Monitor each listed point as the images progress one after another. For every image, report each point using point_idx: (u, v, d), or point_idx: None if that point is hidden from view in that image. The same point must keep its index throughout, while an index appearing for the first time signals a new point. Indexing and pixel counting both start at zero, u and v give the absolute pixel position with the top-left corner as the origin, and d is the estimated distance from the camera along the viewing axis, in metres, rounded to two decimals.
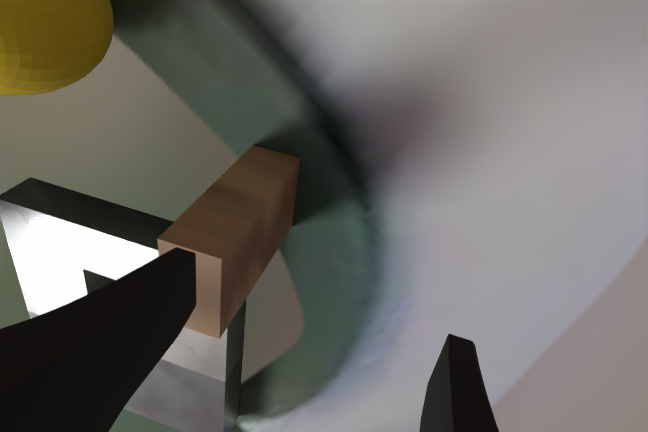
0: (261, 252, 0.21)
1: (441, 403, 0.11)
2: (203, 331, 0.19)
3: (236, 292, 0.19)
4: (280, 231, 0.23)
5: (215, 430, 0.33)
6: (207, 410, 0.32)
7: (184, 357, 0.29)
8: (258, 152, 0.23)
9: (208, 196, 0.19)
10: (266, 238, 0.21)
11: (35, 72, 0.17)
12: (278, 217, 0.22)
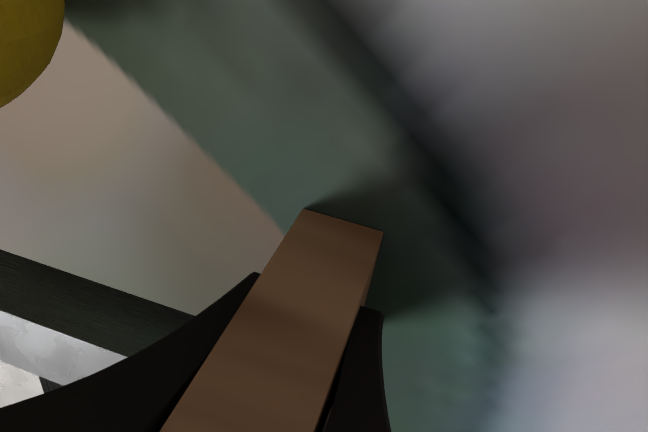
0: (328, 410, 0.12)
1: None
2: None
3: None
4: None
5: None
6: None
7: None
8: (314, 223, 0.14)
9: (239, 330, 0.10)
10: (336, 384, 0.12)
11: None
12: None
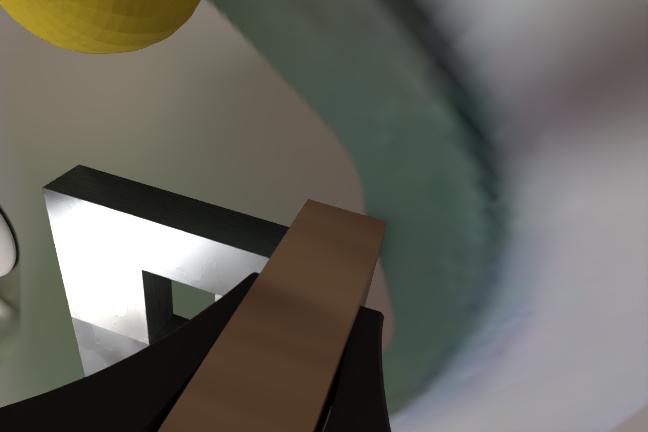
0: (333, 394, 0.12)
1: None
2: None
3: None
4: None
5: None
6: None
7: None
8: (319, 213, 0.14)
9: (247, 314, 0.10)
10: None
11: (128, 20, 0.13)
12: None
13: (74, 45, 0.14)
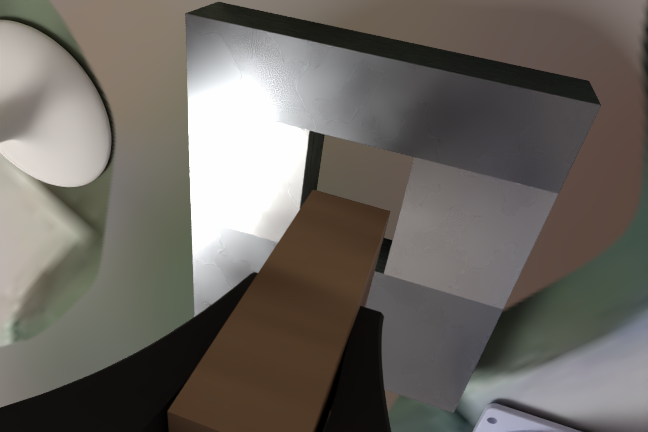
0: None
1: None
2: None
3: None
4: None
5: (451, 388, 0.23)
6: (450, 357, 0.22)
7: (443, 272, 0.20)
8: (324, 202, 0.14)
9: (256, 296, 0.11)
10: None
11: None
12: None
13: None
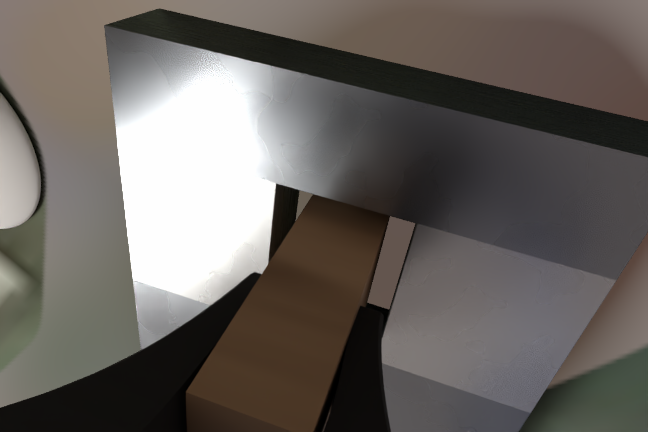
0: None
1: None
2: None
3: None
4: None
5: None
6: None
7: (453, 365, 0.15)
8: (328, 199, 0.15)
9: (266, 287, 0.11)
10: None
11: None
12: (363, 303, 0.14)
13: None
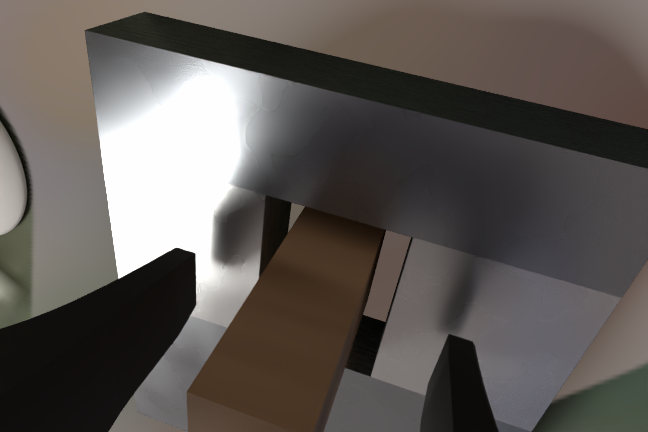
0: (343, 365, 0.13)
1: (441, 403, 0.11)
2: None
3: None
4: (360, 317, 0.15)
5: None
6: None
7: None
8: None
9: (266, 287, 0.11)
10: (350, 341, 0.13)
11: None
12: (363, 302, 0.14)
13: None
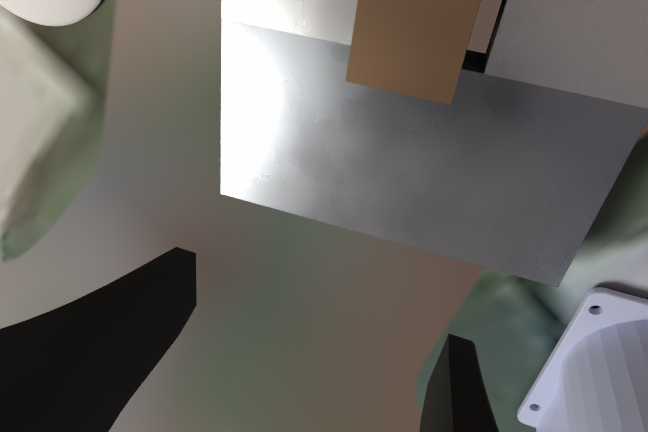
0: None
1: (441, 403, 0.11)
2: (421, 92, 0.11)
3: None
4: None
5: (559, 249, 0.18)
6: (564, 200, 0.17)
7: (572, 58, 0.14)
8: None
9: None
10: None
11: None
12: None
13: None
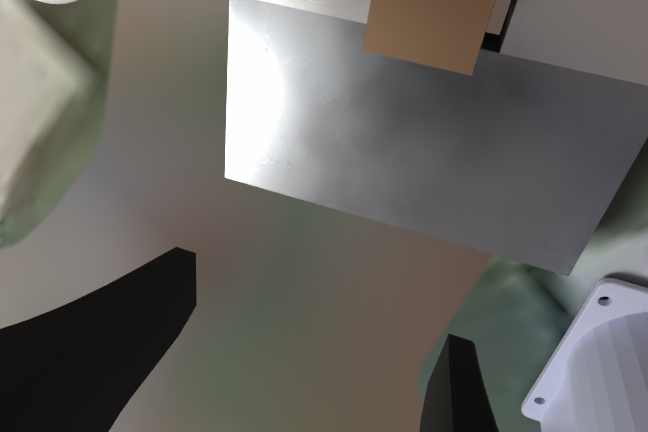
0: None
1: (441, 403, 0.11)
2: (441, 62, 0.10)
3: None
4: None
5: (571, 236, 0.17)
6: (578, 186, 0.16)
7: (591, 37, 0.14)
8: None
9: None
10: None
11: None
12: None
13: None
